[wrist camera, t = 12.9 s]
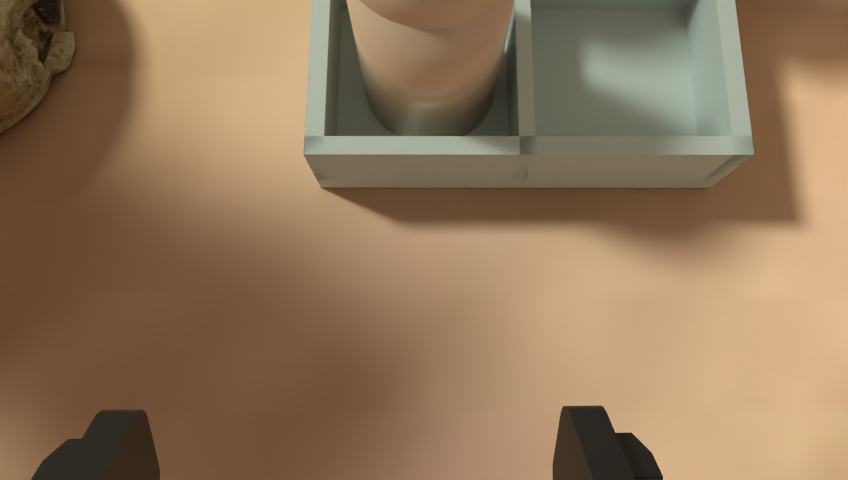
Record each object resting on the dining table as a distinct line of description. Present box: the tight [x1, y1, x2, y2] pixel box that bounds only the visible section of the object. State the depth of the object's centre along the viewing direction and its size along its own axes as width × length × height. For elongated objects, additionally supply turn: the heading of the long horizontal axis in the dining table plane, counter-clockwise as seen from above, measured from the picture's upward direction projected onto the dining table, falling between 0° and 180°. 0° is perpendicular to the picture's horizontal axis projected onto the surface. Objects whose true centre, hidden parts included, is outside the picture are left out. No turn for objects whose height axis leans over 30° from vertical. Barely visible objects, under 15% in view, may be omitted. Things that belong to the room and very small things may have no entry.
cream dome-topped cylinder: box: [346, 0, 514, 136], centre depth 18 cm, size 5×5×10 cm
